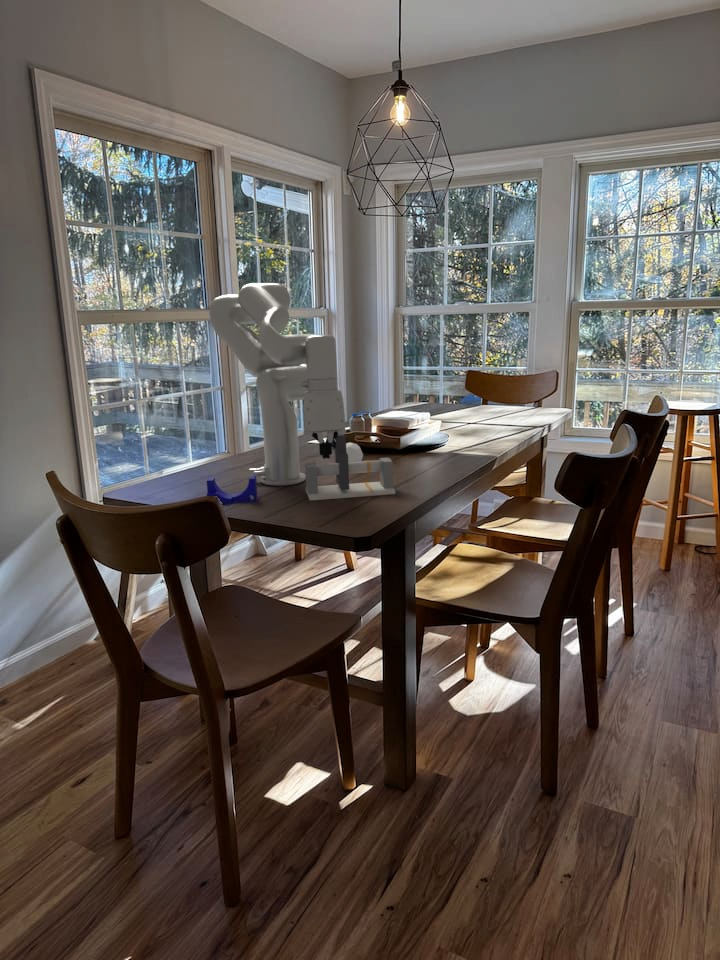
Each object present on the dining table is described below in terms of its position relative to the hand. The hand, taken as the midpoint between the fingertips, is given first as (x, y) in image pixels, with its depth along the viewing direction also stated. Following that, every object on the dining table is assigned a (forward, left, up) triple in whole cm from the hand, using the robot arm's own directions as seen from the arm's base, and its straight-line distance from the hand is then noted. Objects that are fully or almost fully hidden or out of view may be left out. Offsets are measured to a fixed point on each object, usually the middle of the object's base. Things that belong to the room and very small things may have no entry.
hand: (326, 457), depth 171 cm
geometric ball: (+11, +29, -10) cm, 33 cm away
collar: (+4, 0, -8) cm, 9 cm away
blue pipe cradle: (-24, 0, -10) cm, 26 cm away
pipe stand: (+6, 0, -10) cm, 11 cm away
